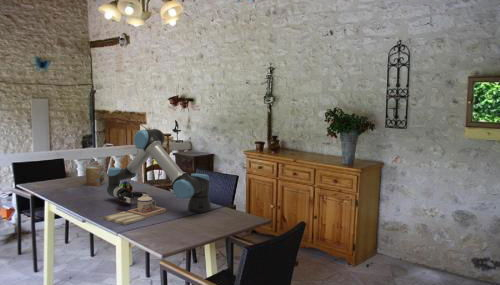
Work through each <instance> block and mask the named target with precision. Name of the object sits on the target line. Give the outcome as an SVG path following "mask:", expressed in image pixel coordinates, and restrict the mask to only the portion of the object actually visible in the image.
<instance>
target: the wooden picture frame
mask: <svg viewBox="0 0 500 285" xmlns="http://www.w3.org/2000/svg"><path fill="white" fill-rule="evenodd" d="M153 206H154V205H152V207H153ZM126 212H129V213H133V214H137V215H141V216H145V219H147V218H150V217H153V216H157V215H159V214H160V215H161V214H164V213H167V208H165V207H161V206H157V205H156V206H155V207H154V208H152V212H149V213H145V214H144V213H140V212H138V207H137V208H132V209H129V210H126Z"/></svg>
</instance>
